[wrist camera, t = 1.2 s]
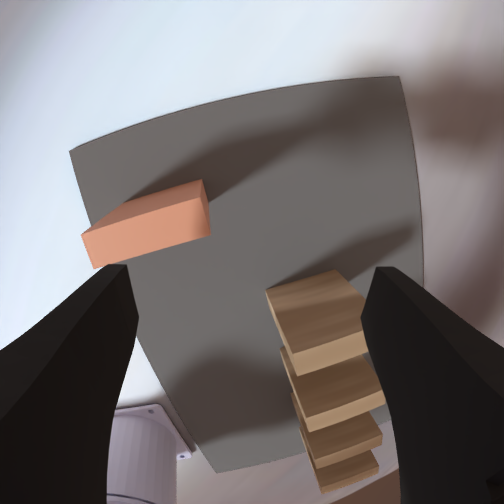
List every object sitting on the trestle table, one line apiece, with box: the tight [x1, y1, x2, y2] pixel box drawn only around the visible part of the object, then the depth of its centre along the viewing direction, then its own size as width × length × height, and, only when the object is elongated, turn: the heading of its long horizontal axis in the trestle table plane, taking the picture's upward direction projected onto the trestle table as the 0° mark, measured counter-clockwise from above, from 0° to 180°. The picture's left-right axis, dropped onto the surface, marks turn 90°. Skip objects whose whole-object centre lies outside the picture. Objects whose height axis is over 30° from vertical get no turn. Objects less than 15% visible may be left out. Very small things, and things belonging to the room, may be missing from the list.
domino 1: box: [81, 179, 211, 269], centre depth 15 cm, size 2×5×7 cm, turn 103°
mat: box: [69, 76, 423, 473], centre depth 23 cm, size 22×32×1 cm
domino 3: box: [279, 347, 385, 432], centre depth 20 cm, size 2×5×7 cm, turn 103°
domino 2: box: [265, 269, 368, 376], centre depth 18 cm, size 2×5×7 cm, turn 104°
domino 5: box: [299, 427, 379, 494], centre depth 23 cm, size 2×5×7 cm, turn 103°
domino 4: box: [291, 392, 383, 469], centre depth 22 cm, size 2×5×7 cm, turn 104°
